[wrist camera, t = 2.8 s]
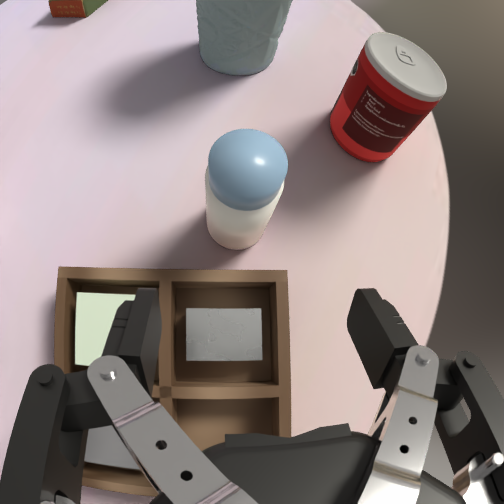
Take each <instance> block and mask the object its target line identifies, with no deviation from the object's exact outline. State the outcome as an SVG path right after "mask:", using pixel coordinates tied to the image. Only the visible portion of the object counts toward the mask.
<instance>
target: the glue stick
mask: <svg viewBox="0 0 504 504" xmlns="http://www.w3.org/2000/svg"><path fill="white" fill-rule="evenodd" d="M287 170H288V159H287V156H286V153H285V151H284V149H283V147H282V146H281V145H280V143H279V142H278V141H277V140H275V139H274V138H273V137H271V136H270V135H268V134H266V133H264V132H261V131H258V130H253V129H238V130H234V131H231V132H228V133H226V134H224V135H223V136H221V137H220V138H219V139H218V140H217V141H216V142H215V143H214V144H213V146H212V148H211V150H210V153H209V158H208V166H207V169H206V174H205V187H206V215H207V228H208V231H209V233H210V235H211V237H212V238H213V239H214V240H215V241H216V242H217V243H218V244H219V245H221V246H223V247H225V248H228V249H232V250H241V249H246V248H249V247H251V246H252V245H254V244H255V243H256V242H258V241H259V239H260V238H261V237H262V235H263V233H264V231H265V228H266V226H267V224H268V222H269V220H270V218H271V215H272V213H273V211H274V209H275V207H276V205H277V202H278V200H279V198H280V196H281V194H282V191H283V188H284V179H285V176H286V174H287Z"/></svg>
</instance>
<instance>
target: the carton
mask: <svg viewBox="0 0 504 504" xmlns="http://www.w3.org/2000/svg"><path fill="white" fill-rule="evenodd" d="M107 1H108V0H49V6H50V11H51V14H52V16H53V17H83V18H86V17H88V16H89V15H91V14H92V13H93V12H94V11H95V10H97V9H98V8H99V7H100V6H102V5H103V4H104V3H106V2H107Z"/></svg>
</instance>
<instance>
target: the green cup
mask: <svg viewBox="0 0 504 504" xmlns="http://www.w3.org/2000/svg"><path fill="white" fill-rule="evenodd" d="M292 1H293V0H196V7H197V15H198V16H197V20H198V33H199V49H200V56H201V58H202V60H203V62H204V63H205V64H206V65H207V66H208V67H210V68H211V69H213V70H215V71H218V72H220V73H224V74H228V75H250V74H254V73H258V72H260V71H262V70H264V69H265V68H267V67H268V66H269V65H270V63H271V62H272V60H273V58H274V55H275V52H276V49H277V46H278V38H279V37H280V34H281V33H282V31H283V26H284V24H285V22H286V19H287V14H288V12H289V8H290V5H291V2H292Z"/></svg>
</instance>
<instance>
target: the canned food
mask: <svg viewBox="0 0 504 504" xmlns="http://www.w3.org/2000/svg"><path fill="white" fill-rule="evenodd" d="M446 90H447V84H446V79H445V77H444V75H443V73H442V71H441V69H440V68H439V66H438V65H437V64H436V62H435V61H434V60H433V59H432V58H431V57H430V56H429V55H428V54H427V53H426V52H425V51H423V50H422V49H421V48H419V47H418V46H417V45H415V44H414V43H412V42H410V41H409V40H407V39H405V38H402V37H400V36H398V35H395V34H391V33H385V32H378V33H374V34H372V35H371V36H370V37H369V38H368V40H367V41H366V43H365V45H364V47H363V48H362V50H361V52H360V54H359V56H358V58H357V60H356V62H355V64H354V67H353V69H352V71H351V73H350V75H349V77H348V79H347V81H346V83H345V85H344V87H343V89H342V91H341V93H340V95H339V97H338V99H337V101H336V103H335V105H334V107H333V109H332V111H331V116H330V127H331V131H332V134H333V136H334V138H335V140H336V141H337V142H338V144H339V145H340V146H341V147H342V148H343V149H344V150H345V151H346V152H347V153H349V154H350V155H352V156H353V157H355V158H357V159H360V160H362V161H367V162H378V161H381V160H384V159H386V158H388V157H390V156H391V155H392V154H393V153H394V152H395V151H396V150H397V149H398V147H399V146H400V145H401V144H402V143H403V142H404V141H405V140H406V139H407V137H408V136H409V135H410V134H411V133H412V132H413V131H414V130H415V128H416V127H417V126H418V125H419V124H420V123H421V122H422V121H423V119H424V118H425V117H426V116H427V115H428V114H429V113H430V111H431V110H432V109H433V108H434V107H435V106H436V104H437V103H438V102H439V101H440V100H441V98H442V97H443V95H444V94H445V91H446Z"/></svg>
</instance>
